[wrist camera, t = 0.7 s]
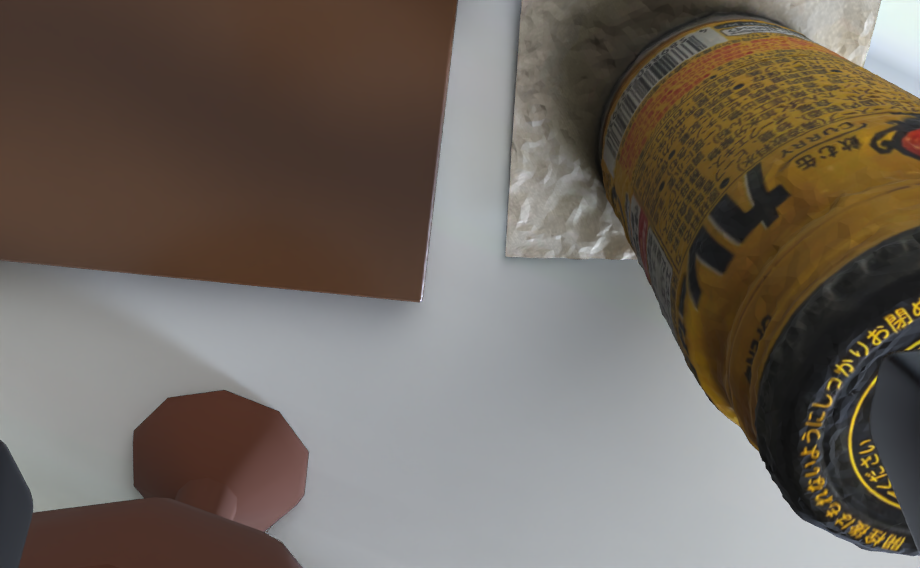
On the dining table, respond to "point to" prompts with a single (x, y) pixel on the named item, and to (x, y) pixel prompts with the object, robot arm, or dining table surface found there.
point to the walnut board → (225, 139)
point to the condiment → (739, 213)
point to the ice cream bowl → (188, 494)
